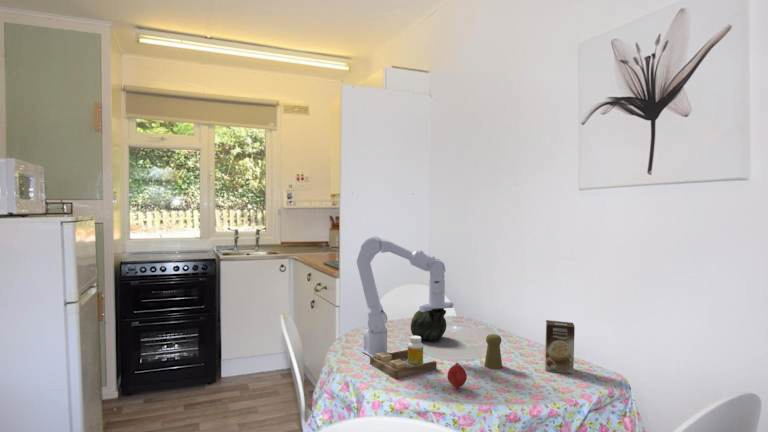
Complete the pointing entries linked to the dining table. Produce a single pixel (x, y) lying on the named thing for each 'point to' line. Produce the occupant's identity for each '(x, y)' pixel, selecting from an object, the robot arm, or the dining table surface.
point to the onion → (457, 376)
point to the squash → (426, 326)
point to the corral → (402, 371)
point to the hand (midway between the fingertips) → (436, 329)
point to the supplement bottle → (415, 351)
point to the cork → (493, 352)
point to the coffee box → (559, 347)
